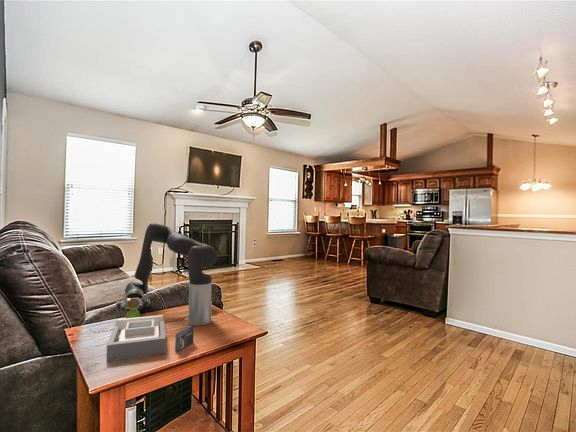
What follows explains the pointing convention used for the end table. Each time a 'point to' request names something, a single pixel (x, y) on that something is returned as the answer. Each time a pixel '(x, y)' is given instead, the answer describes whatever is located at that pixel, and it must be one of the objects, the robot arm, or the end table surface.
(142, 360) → the end table surface
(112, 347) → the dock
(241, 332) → the end table surface
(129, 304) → the snail figurine
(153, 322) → the tray
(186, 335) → the mini dv tape
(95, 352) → the end table surface
